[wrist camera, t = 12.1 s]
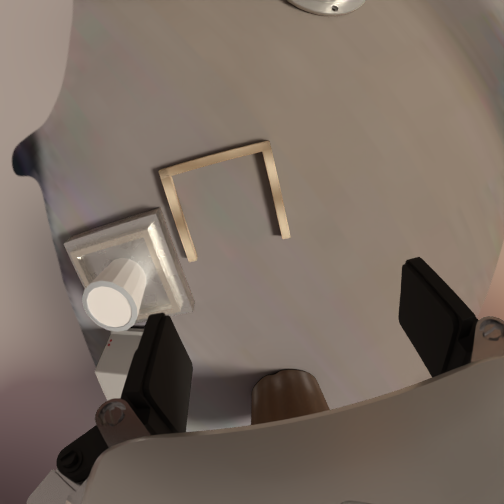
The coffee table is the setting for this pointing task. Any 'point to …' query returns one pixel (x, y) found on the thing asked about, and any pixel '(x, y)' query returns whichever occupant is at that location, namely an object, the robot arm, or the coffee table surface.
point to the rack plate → (136, 260)
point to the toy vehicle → (117, 361)
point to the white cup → (115, 295)
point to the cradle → (213, 159)
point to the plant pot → (286, 397)
